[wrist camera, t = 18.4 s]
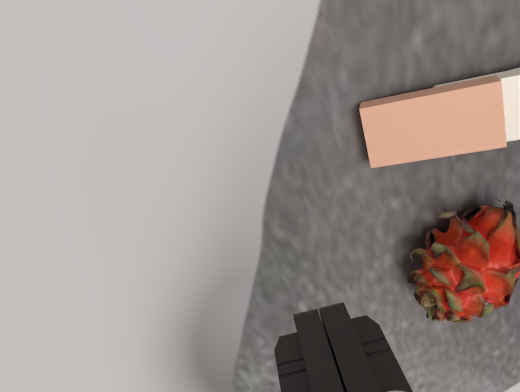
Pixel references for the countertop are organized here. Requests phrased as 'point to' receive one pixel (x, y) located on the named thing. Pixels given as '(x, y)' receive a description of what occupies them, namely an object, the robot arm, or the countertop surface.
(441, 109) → the terracotta domino
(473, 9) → the countertop surface
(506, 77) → the ivory domino
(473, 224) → the dragon fruit
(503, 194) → the countertop surface
